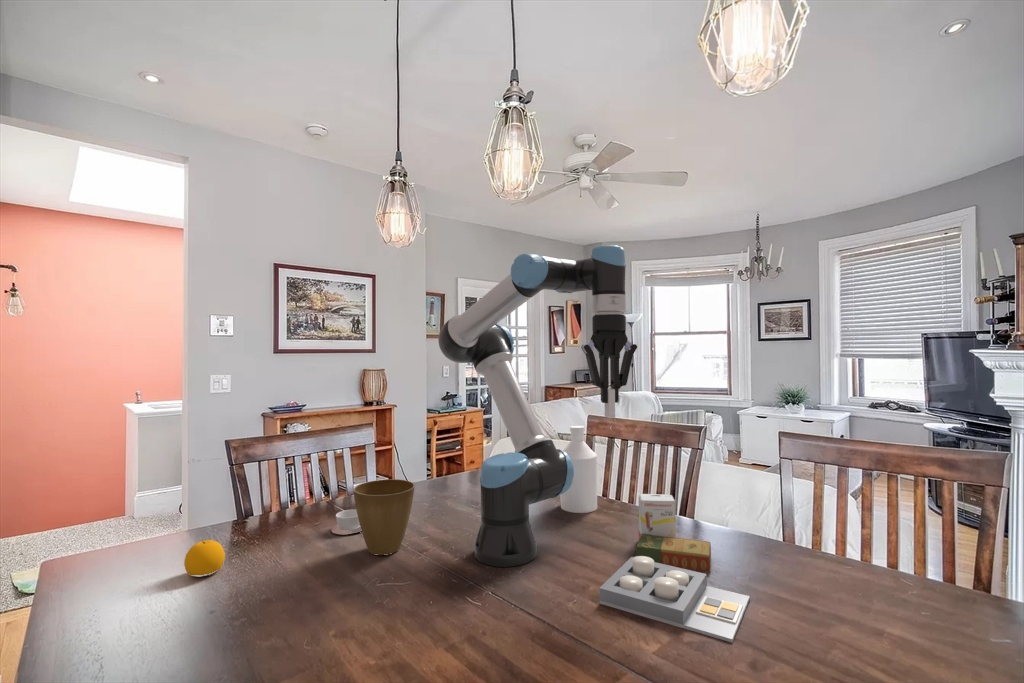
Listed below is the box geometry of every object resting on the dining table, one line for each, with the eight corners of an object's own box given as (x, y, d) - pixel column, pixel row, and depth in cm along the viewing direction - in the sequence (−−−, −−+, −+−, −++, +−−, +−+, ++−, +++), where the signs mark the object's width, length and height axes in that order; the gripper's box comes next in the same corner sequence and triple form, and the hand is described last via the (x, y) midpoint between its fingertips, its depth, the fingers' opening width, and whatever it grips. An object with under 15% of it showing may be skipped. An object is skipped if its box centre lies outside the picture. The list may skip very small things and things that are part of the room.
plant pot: (370, 568, 114) (369, 498, 115) (344, 549, 126) (343, 486, 126) (426, 550, 124) (425, 486, 124) (397, 534, 135) (396, 475, 136)
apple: (230, 573, 114) (229, 540, 114) (190, 585, 108) (189, 550, 108) (218, 563, 119) (218, 531, 119) (179, 574, 113) (179, 541, 113)
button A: (616, 595, 98) (616, 582, 98) (624, 586, 102) (624, 573, 102) (638, 601, 95) (637, 587, 95) (645, 591, 99) (645, 578, 99)
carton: (710, 574, 109) (709, 554, 109) (635, 563, 115) (635, 545, 115) (711, 559, 117) (710, 540, 117) (641, 549, 123) (640, 532, 123)
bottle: (556, 502, 161) (554, 424, 161) (592, 500, 162) (590, 423, 162) (564, 514, 149) (562, 430, 149) (602, 512, 150) (601, 429, 151)
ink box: (641, 547, 123) (640, 499, 124) (638, 539, 128) (637, 493, 129) (677, 548, 122) (675, 500, 123) (673, 540, 127) (672, 494, 127)
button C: (651, 597, 94) (650, 583, 94) (658, 588, 98) (658, 574, 98) (674, 604, 92) (674, 589, 92) (681, 594, 95) (681, 580, 95)
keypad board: (599, 603, 97) (599, 588, 97) (631, 570, 111) (631, 556, 111) (732, 642, 83) (731, 624, 83) (749, 599, 97) (749, 583, 97)
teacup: (375, 527, 142) (375, 511, 142) (347, 539, 133) (347, 521, 133) (351, 521, 147) (351, 505, 147) (323, 533, 138) (322, 516, 138)
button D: (663, 589, 100) (662, 576, 100) (669, 581, 103) (669, 568, 103) (685, 595, 97) (685, 582, 97) (691, 586, 101) (691, 573, 101)
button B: (629, 574, 104) (629, 561, 104) (637, 566, 107) (636, 554, 107) (650, 579, 101) (649, 566, 101) (657, 571, 105) (656, 559, 105)
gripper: (587, 313, 109) (588, 420, 109) (642, 313, 112) (643, 418, 112) (576, 315, 117) (577, 415, 117) (628, 315, 119) (629, 413, 119)
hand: (609, 417), depth 114 cm, fingers closed
